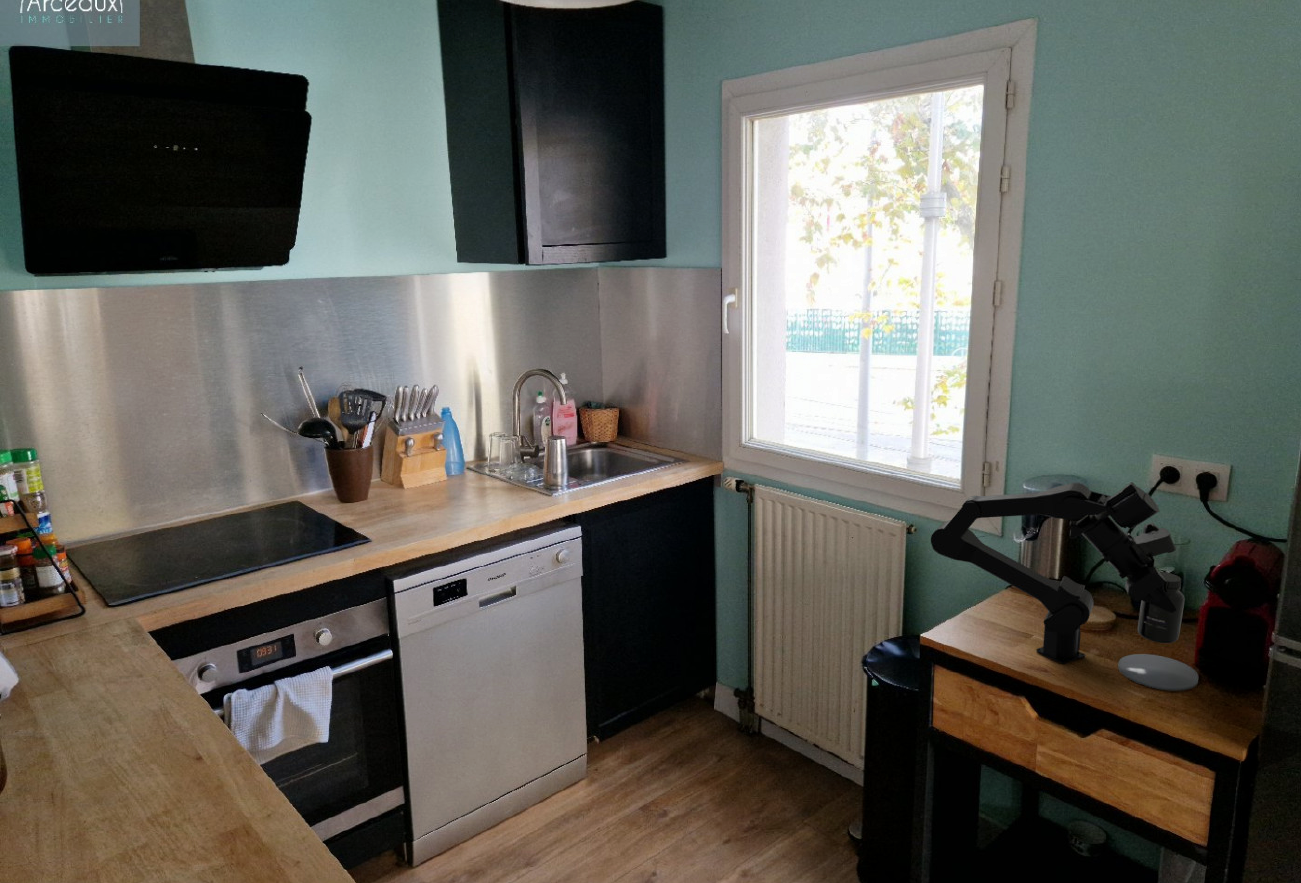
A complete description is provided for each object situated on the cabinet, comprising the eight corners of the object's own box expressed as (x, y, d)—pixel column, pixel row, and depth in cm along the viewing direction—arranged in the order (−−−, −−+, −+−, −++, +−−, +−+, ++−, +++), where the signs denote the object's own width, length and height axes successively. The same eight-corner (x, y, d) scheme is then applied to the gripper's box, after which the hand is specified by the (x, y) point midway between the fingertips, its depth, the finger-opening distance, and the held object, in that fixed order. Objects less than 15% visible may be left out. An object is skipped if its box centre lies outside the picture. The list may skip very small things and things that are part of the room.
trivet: (1167, 697, 158) (1167, 693, 158) (1102, 667, 170) (1103, 663, 169) (1214, 680, 163) (1214, 676, 163) (1148, 652, 175) (1148, 648, 175)
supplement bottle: (1144, 643, 165) (1152, 583, 162) (1131, 627, 171) (1138, 568, 168) (1185, 645, 164) (1193, 584, 161) (1170, 629, 170) (1178, 570, 167)
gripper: (1157, 530, 155) (1222, 597, 154) (1140, 500, 172) (1198, 561, 171) (1102, 568, 159) (1165, 633, 158) (1091, 535, 176) (1147, 594, 175)
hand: (1170, 603), depth 165 cm, fingers closed on supplement bottle, 7 cm apart
